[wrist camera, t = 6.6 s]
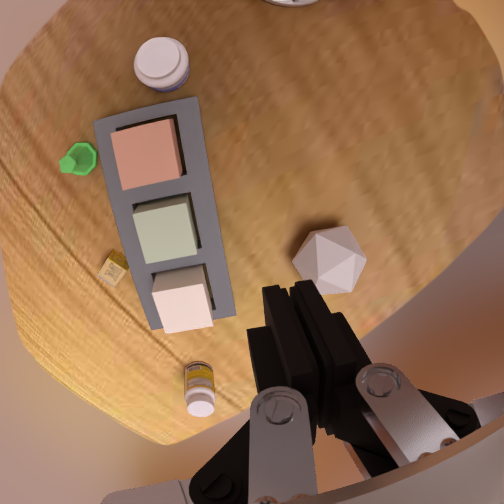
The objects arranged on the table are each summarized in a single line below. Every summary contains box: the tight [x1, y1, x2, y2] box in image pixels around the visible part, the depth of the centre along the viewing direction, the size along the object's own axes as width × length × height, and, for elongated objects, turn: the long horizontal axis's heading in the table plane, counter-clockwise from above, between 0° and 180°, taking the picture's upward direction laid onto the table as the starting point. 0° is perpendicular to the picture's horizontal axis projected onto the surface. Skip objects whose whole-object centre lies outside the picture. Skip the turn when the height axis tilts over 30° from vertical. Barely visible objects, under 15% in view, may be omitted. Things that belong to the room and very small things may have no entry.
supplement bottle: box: [184, 362, 215, 417], centre depth 46 cm, size 5×5×8 cm
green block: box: [132, 192, 197, 264], centre depth 37 cm, size 6×6×5 cm
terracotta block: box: [111, 119, 183, 190], centre depth 32 cm, size 6×6×5 cm
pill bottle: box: [134, 37, 190, 92], centre depth 28 cm, size 5×5×10 cm
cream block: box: [152, 264, 213, 334], centre depth 39 cm, size 6×6×5 cm
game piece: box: [59, 142, 98, 175], centre depth 32 cm, size 4×4×6 cm
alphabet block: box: [98, 250, 129, 287], centre depth 39 cm, size 3×3×3 cm
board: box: [93, 96, 236, 330], centre depth 38 cm, size 28×12×3 cm, turn 8°
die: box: [292, 225, 367, 295], centre depth 41 cm, size 8×9×10 cm
